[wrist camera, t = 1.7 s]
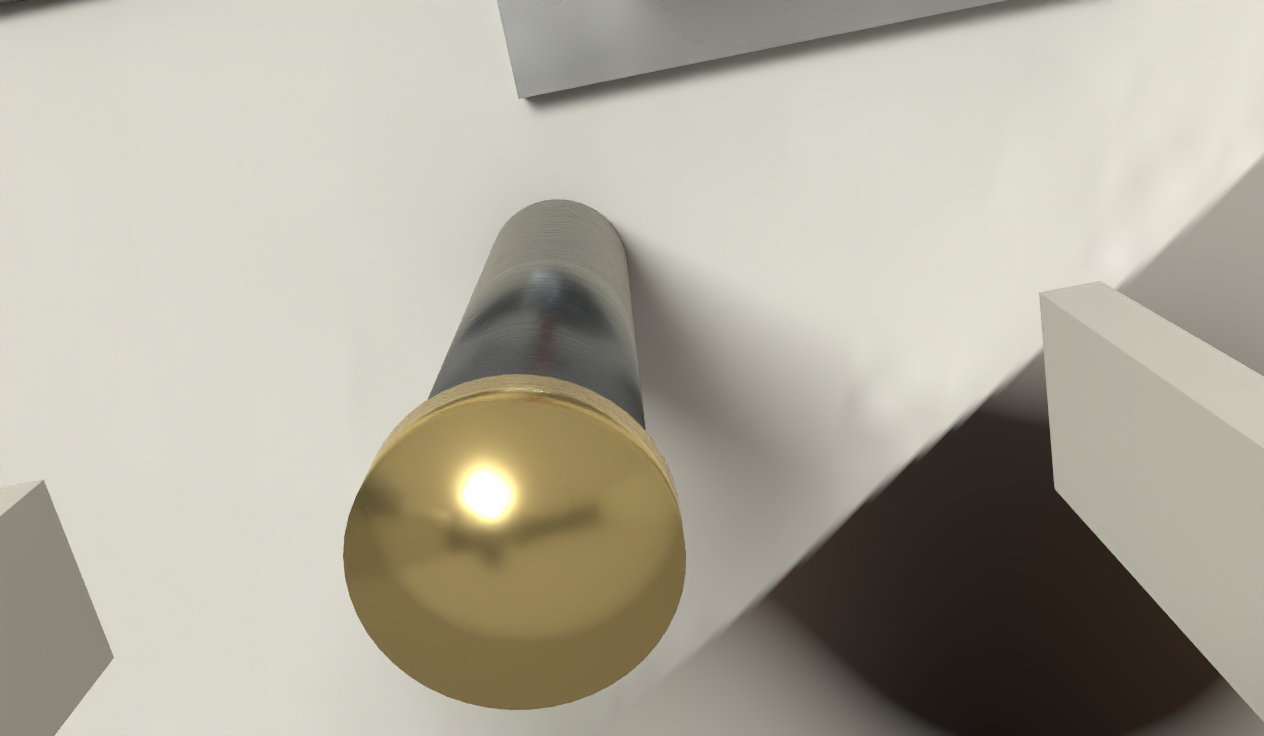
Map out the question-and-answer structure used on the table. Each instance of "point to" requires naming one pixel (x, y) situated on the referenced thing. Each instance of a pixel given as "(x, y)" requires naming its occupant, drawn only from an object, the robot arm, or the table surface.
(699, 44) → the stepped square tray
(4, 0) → the mat
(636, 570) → the gold capped cylinder
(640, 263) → the table surface
